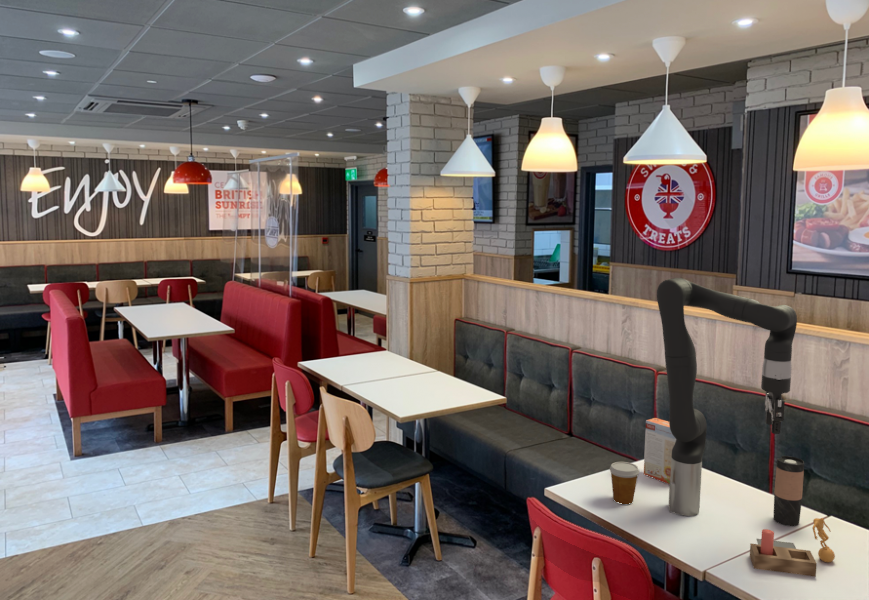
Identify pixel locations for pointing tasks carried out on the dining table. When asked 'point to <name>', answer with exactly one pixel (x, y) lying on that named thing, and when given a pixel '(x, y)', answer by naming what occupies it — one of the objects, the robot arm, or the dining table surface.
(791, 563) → the hole block
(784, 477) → the travel mug
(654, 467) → the cracker box
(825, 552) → the figurine
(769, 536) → the peg
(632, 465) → the disposable coffee cup
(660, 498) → the dining table surface
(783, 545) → the mat
